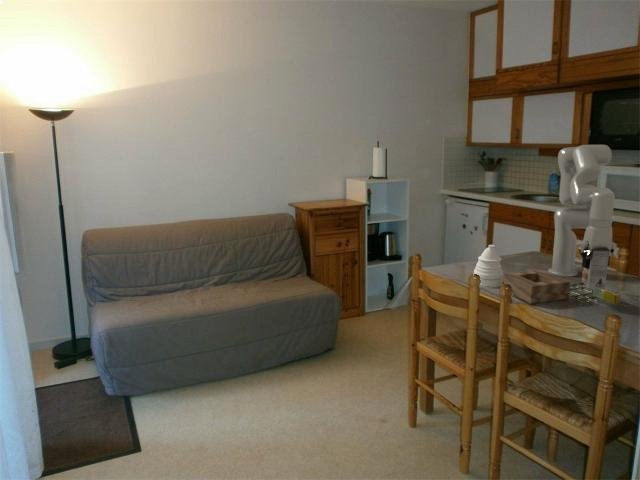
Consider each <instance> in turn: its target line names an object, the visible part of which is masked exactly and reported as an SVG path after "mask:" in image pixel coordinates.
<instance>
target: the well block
mask: <svg viewBox="0 0 640 480" xmlns="http://www.w3.org/2000/svg"><path fill="white" fill-rule="evenodd" d="M504 284H509V285H511V287H512V289H513V296H512V297H513V298H515V299H517V300H518V301H521V302H523V303H525V304H527V305H529V306H537V305H544V304H554V303H561V302H568V301H569V300H570V299H569V298H570V291H571V290H570V289H571V281H569V280H567V279H564V278H562V277H560V276H557V275H553V274H550V273H549V272H546V271H544V270H540V269H538V270H529V271H519V272H511V273H503V285H504Z"/></svg>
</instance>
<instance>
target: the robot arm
mask: <svg viewBox="0 0 640 480" xmlns="http://www.w3.org/2000/svg"><path fill="white" fill-rule="evenodd" d="M611 161H612V149H611V148H610V146H608V145H606V144H582V145H579V146H573V147H572V146H571V147H564V148H562V149H560V150H559V152H558V155H557V163H558V168H559V171H560V184H559V197H558V198H559V202H560V203H561V204H562V205H565V206H577V207H561V208H558V209H556V210H555V212H554V215H553V219H554V221H553V223H554V239H553V250H552V251H553V252H552V253H553V254H552V263H551V264H552V266H551V267H550V268H548V272H547V273H549V274H552V275H554V276H557V277H566V278H567V277H568V278H569V277H576V276H577V275H578V271H577V269H579V270H580V269H583V267H584V268H586V269H589V266H590V259H589V257H590V255H591V252H592V249H596V248H606V247H607V248H608V249H609V250H610V252H609V260H608V267H609V266H610V261H611V257H612V256H613V255H612V254H613V253H615V249H616V248H617V247H618V244H617V243H615V242H614V241H613V227H612V223H613V222H614V221H613V216H614V215H613V214H614V206H615V199H616V197H615V193H614V192H613V191H612V190H611V189H610V188H608V187H596V186H595V185H593V184H587V183H590V182H592V181H594V180H596V179H597V178H599V176H600V175H601V173H602V170H601V166H602V167H603V166H607V165H609V164H610V162H611ZM573 229H585V231H584V236H583V240H582V244H581V245H580V246H579V247H578V248H577V244H578V243H577V241H578V239H577V235H576V234H575V232H574V231H573ZM589 249H590V251H589ZM577 250H578V252H579V255H581V258H582V260H581V261H582V262H581V264H580V263H579V264H576V262H575V261H576V254H577V253H576V252H577ZM587 252H588V254H587Z"/></svg>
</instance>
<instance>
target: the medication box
mask: <svg viewBox="0 0 640 480" xmlns="http://www.w3.org/2000/svg"><path fill="white" fill-rule="evenodd" d="M591 296H593V297H596V298H599V299H601V300H604V301H606V302H609V303H611V304H614V305H618V304H620V303H621V294H620V293H618V292H614V291H611V290H610V289H607V288H605V289H591Z"/></svg>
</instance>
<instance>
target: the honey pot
mask: <svg viewBox="0 0 640 480" xmlns="http://www.w3.org/2000/svg"><path fill="white" fill-rule="evenodd" d="M495 247H496V245H494V244H488V247H486V248H485V249H484V250H483V252H482V253H481V255H479V256H478V261H477V263H476V264H475V265H476V266H474V267H475V268H474V270H473V275H474V274H477V275H479V276H480V280H481V283H480V285H481V286H480V287H482V286H491V287H490V288H494V287H493V286H499V285H501V284H503V285H504V271H503V268H502V265H501V261H502V260H503V259H502V257H500V256H498V253H497V252H496V250H495Z"/></svg>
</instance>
